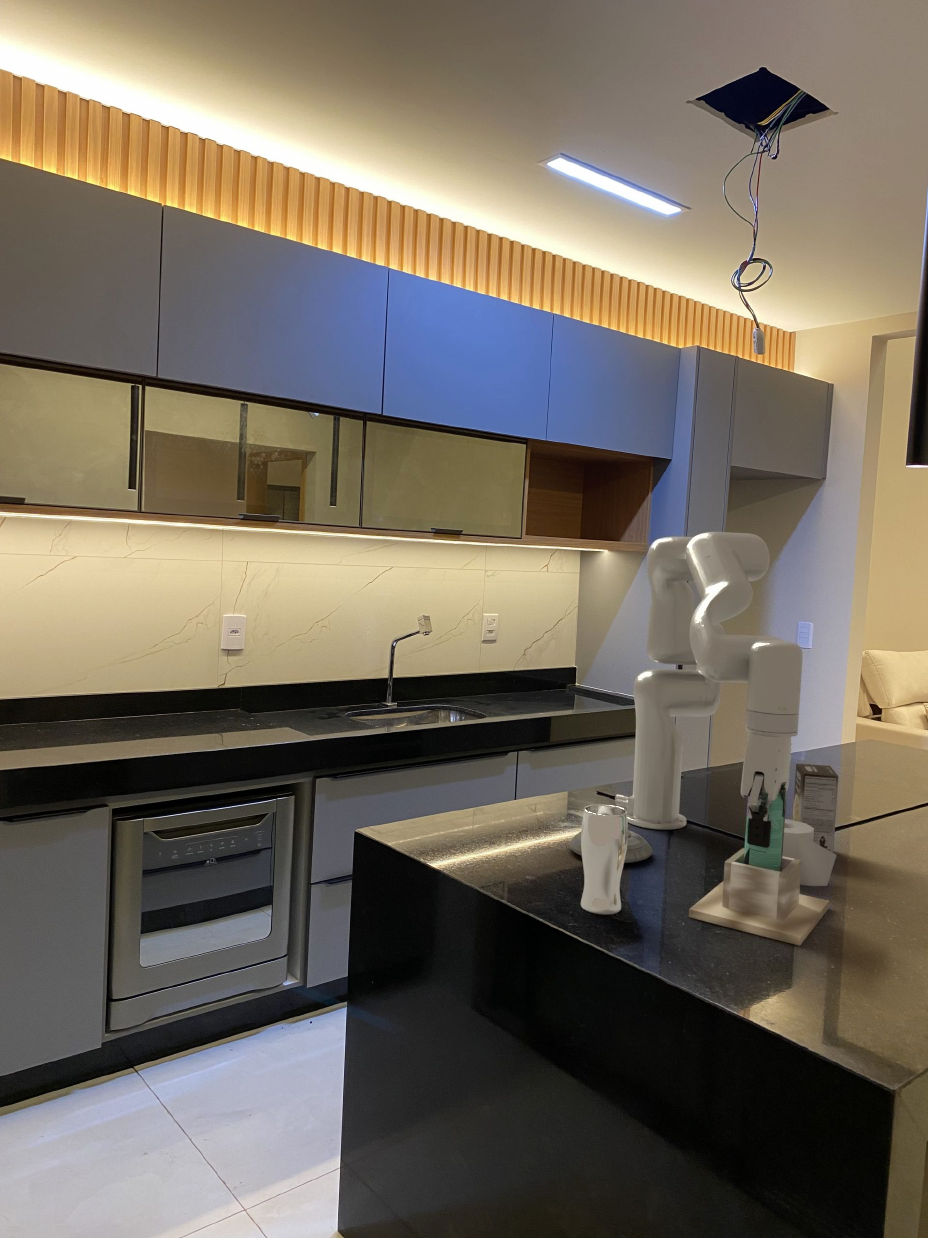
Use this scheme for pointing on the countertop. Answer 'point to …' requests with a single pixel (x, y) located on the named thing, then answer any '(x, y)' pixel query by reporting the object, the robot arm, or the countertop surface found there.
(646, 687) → the robot arm
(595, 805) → the beer glass
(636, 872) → the countertop surface
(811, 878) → the toilet tissue
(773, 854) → the spray can
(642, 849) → the flying saucer
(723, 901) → the can caddy
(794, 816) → the coffee box
